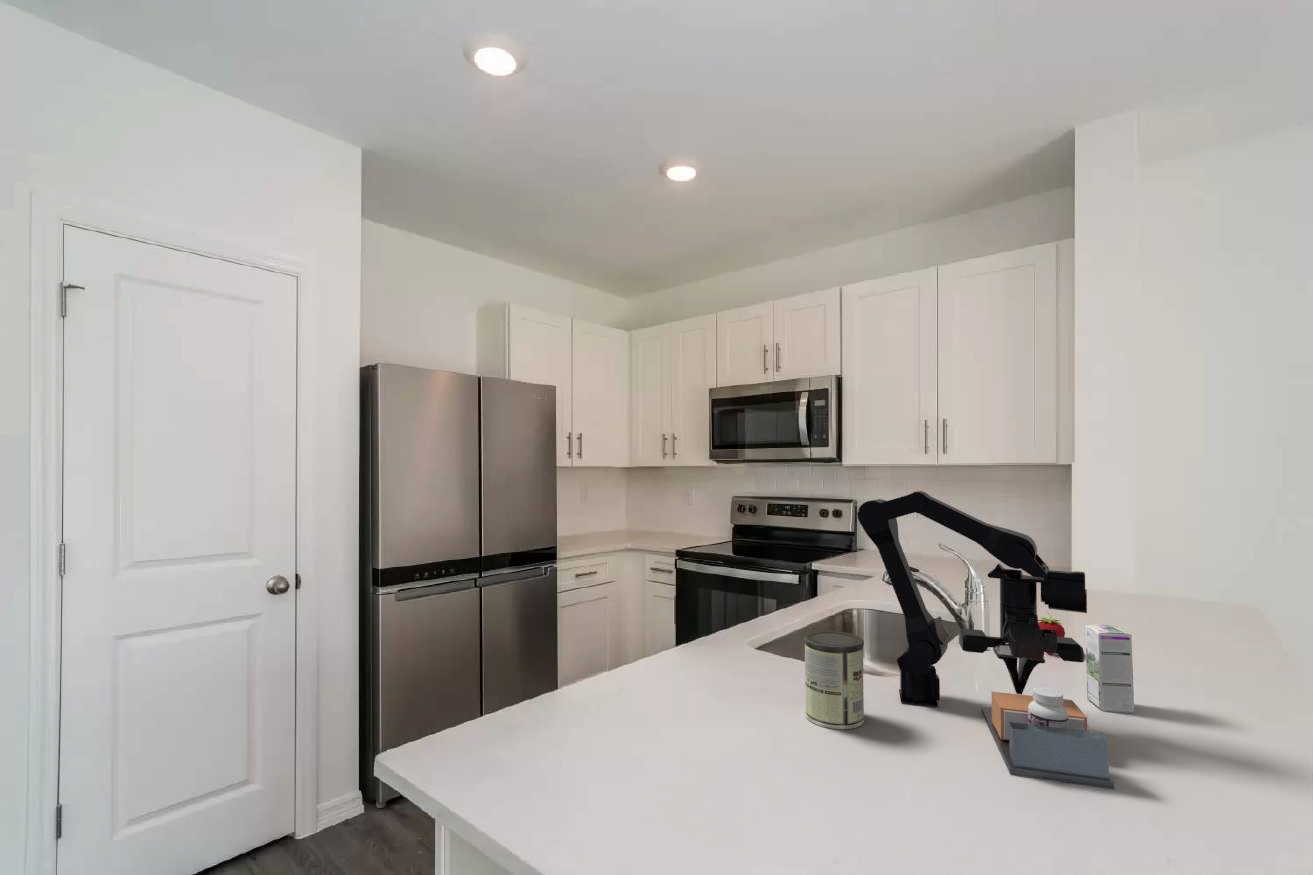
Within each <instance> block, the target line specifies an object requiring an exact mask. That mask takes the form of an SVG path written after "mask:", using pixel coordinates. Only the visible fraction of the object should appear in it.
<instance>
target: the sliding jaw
mask: <svg viewBox="0 0 1313 875" xmlns="http://www.w3.org/2000/svg"><path fill="white" fill-rule="evenodd" d="M1032 701H1034V699H1033V695H1030V694H1028V695H1027V694H1017V693H1010V692H1009V693H1008V692H1000V691H999V692H998V691H991V708H992V722H993V724H994V726H995V728H996V730H997V732H998V734H999V736H1000V738H1001V739H1003V740H1009V722H1013V723H1022V724H1028V705H1029V704H1030V702H1032ZM1062 706H1063V707H1064V708H1065V709H1066V710H1067V711H1068V715H1069V729H1073V730H1081V731H1088V717H1087V716H1086V714H1085V713H1084V712H1083V711H1082V709H1080V708H1079V706H1078V705H1077V704H1076V703H1075V702H1074V701H1073V699H1068V698H1067V699H1065V698H1063V704H1062Z"/></svg>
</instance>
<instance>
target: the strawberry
mask: <svg viewBox="0 0 1313 875" xmlns="http://www.w3.org/2000/svg"><path fill="white" fill-rule="evenodd" d="M1046 613H1047V614H1048V615H1050V614H1049V612H1048V611H1047V610H1046ZM1040 618H1041V619H1038V625H1039V627H1040V629H1050V630H1055V631H1056V633H1057V637H1065V635H1066V631H1065V628H1064V627H1063V626H1062V623H1061V622H1060V621H1061V620H1060V619H1054V618H1053V619H1051V618H1052V617H1050V618H1047V617H1042V616H1041V617H1040ZM1045 654H1047V655H1049V656H1050V655H1052V654H1054V653H1047V652H1045Z"/></svg>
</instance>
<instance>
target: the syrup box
mask: <svg viewBox="0 0 1313 875" xmlns="http://www.w3.org/2000/svg"><path fill="white" fill-rule="evenodd" d="M1132 641H1133V639H1132V634H1131V633H1129V632H1128V631H1126V630H1124V629H1121V628H1120V627H1118V626H1114V625H1108V624H1107V625H1105V624H1090V625H1089V624H1088V625H1087V624H1086V625H1085V652H1086V653H1085V659H1086V666H1085V667H1086V690H1087V691H1086V693H1087V694H1086V695H1087V698H1086V699H1087V701H1089V702H1090V703H1092V705H1094V706H1095V707H1096V708H1097V709H1099V710H1100V711H1102V712H1112V713H1113V712H1114V713H1124V714H1135V700H1134V699H1135V697H1134V696H1135V694H1134V693H1135V692H1134V691H1135V690H1134V688H1135V687H1134V668H1133V667H1134V664H1133V642H1132Z"/></svg>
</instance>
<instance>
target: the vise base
mask: <svg viewBox="0 0 1313 875" xmlns="http://www.w3.org/2000/svg"><path fill="white" fill-rule="evenodd" d="M980 708H981V709H980V710H981V711H980V712H981V715H982V717H983V719H984V721H985V723H986V726H987V728H988V731H989V732H990V734H991V736H992V739H993V740H994V743H995V744H996V747H997V749H998V752H999V753H1000V756H1001V757H1002V759H1003V760H1002V761H1004V763H1005V767H1006V769H1007V770H1008V772H1009V775H1012V776H1018V777H1025V778H1033V779H1040V780H1045V781H1046V780H1048V781H1052V782H1053V781H1054V782H1061V783H1067V784H1076V785H1083V786H1089V787H1095V788H1103V789H1109V790H1110V789H1111V790H1115V781H1114V780H1113V778H1112V777H1111V776H1110V774H1109V739H1108V738H1107V737H1106V736H1105V735H1104V734H1103V733H1102V732H1099V731H1098V732H1097V731H1090V730H1089V731H1088V730H1087V731H1081V730H1073V729H1064V728H1056V727H1047V726H1039V725H1030V724H1022V723H1013V722H1009V740H1003V739H1001V738H1000V736H999V734H998V732H997V730H996V728H995V726H994V724H993V722H992V707H984V706H983V707H982V706H981V707H980Z"/></svg>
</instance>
